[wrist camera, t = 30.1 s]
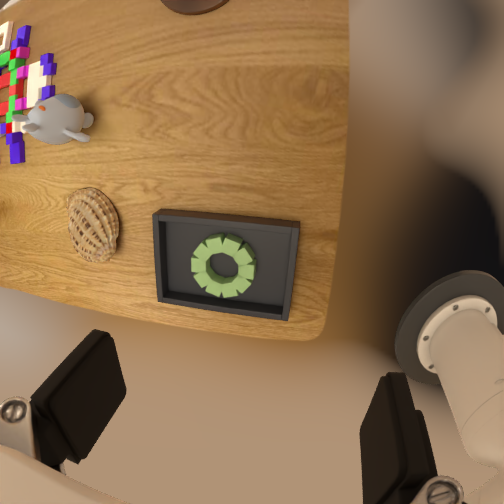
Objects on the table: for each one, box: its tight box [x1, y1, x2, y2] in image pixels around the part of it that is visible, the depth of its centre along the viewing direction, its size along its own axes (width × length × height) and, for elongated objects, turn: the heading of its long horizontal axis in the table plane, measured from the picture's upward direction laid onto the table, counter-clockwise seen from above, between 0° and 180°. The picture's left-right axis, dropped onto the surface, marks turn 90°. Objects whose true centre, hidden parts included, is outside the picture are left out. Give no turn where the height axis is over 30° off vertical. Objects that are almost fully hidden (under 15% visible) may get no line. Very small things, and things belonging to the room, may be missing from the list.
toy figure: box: [11, 94, 94, 145], centre depth 30 cm, size 11×6×12 cm, turn 54°
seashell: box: [66, 188, 119, 263], centre depth 38 cm, size 8×6×10 cm
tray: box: [152, 209, 300, 321], centre depth 38 cm, size 17×12×2 cm
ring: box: [191, 233, 257, 298], centre depth 38 cm, size 7×8×2 cm
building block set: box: [0, 21, 57, 164], centre depth 33 cm, size 25×20×4 cm
